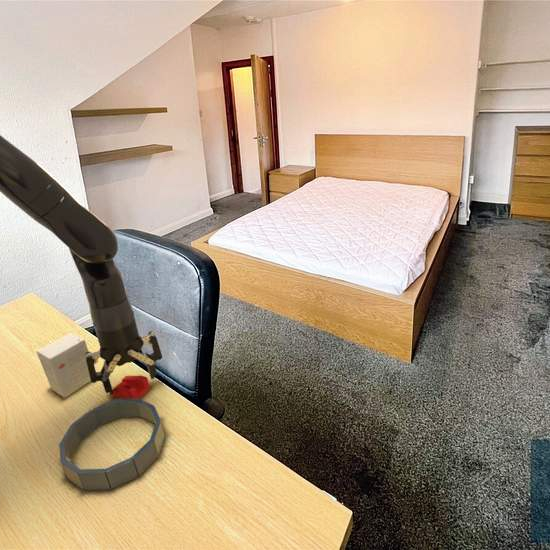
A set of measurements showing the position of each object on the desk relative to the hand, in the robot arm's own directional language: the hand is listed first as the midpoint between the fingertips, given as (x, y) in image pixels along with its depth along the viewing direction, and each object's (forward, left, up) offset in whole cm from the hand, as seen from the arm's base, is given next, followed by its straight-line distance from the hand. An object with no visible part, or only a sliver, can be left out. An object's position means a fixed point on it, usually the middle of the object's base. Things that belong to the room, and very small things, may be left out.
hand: (132, 384), depth 87 cm
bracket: (-1, 0, -2) cm, 2 cm away
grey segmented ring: (-6, -14, -2) cm, 15 cm away
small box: (-11, +10, -2) cm, 15 cm away
